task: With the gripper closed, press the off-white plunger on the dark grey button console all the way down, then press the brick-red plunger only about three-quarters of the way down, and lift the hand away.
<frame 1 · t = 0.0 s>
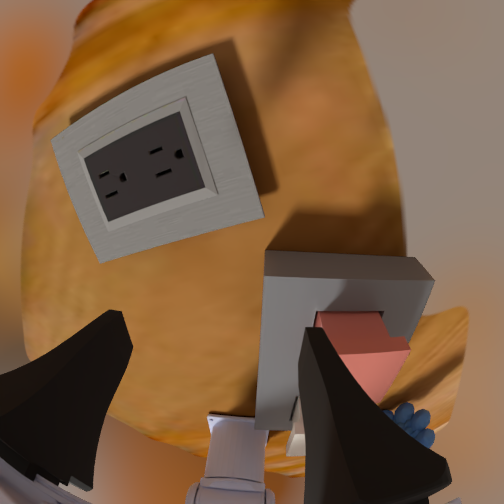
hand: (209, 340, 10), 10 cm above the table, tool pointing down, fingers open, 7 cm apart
electrical outlet: (153, 163, 18), on the table
red plunger: (348, 353, 17), point 5 cm above the table, slide at 0.0 cm
grapes: (384, 411, 30), on the table
console: (324, 350, 24), on the table
white plunger: (319, 422, 21), point 5 cm above the table, slide at 0.0 cm
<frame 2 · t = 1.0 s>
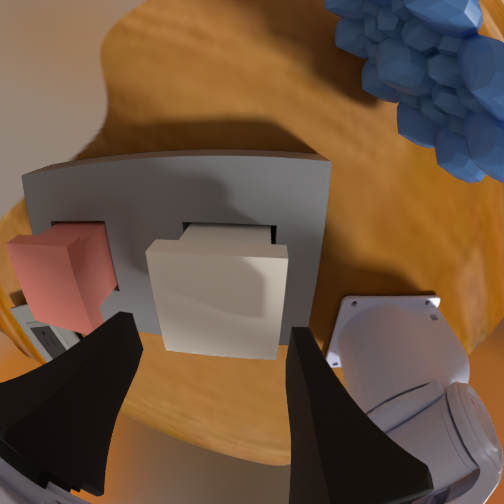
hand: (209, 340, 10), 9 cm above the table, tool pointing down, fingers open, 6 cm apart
electrical outlet: (66, 338, 26), on the table
red plunger: (69, 267, 14), point 5 cm above the table, slide at 0.0 cm
grapes: (382, 73, 13), on the table
console: (165, 237, 19), on the table
white plunger: (224, 281, 14), point 5 cm above the table, slide at 0.0 cm
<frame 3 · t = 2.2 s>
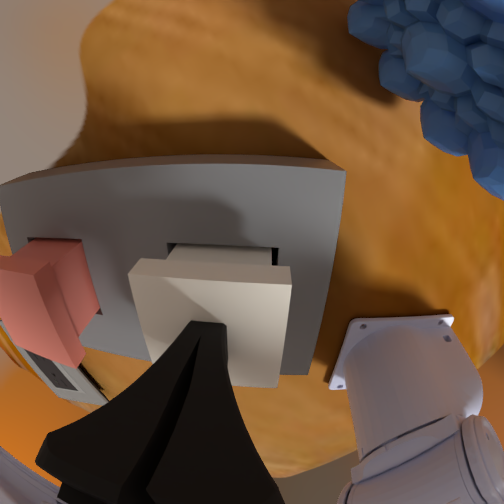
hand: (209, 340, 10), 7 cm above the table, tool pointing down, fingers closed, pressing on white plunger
electrical outlet: (57, 352, 24), on the table
red plunger: (46, 290, 12), point 5 cm above the table, slide at 0.0 cm
grapes: (400, 68, 11), on the table
console: (152, 254, 16), on the table
white plunger: (220, 301, 12), point 4 cm above the table, slide at 0.9 cm, touching gripper
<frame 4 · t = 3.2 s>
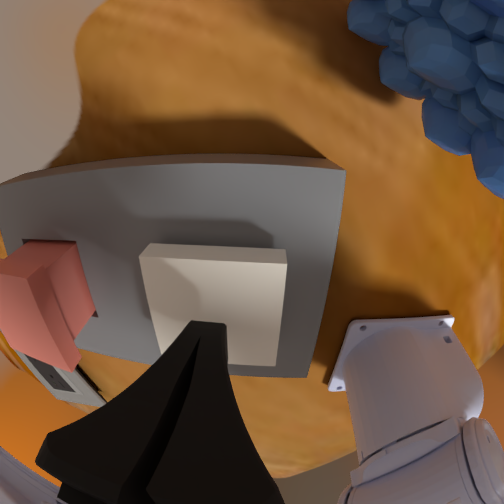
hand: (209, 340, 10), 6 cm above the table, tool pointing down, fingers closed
electrical outlet: (54, 353, 23), on the table
red plunger: (42, 292, 12), point 5 cm above the table, slide at 0.0 cm
grapes: (401, 65, 10), on the table
console: (148, 255, 16), on the table
white plunger: (221, 285, 13), point 3 cm above the table, slide at 2.4 cm
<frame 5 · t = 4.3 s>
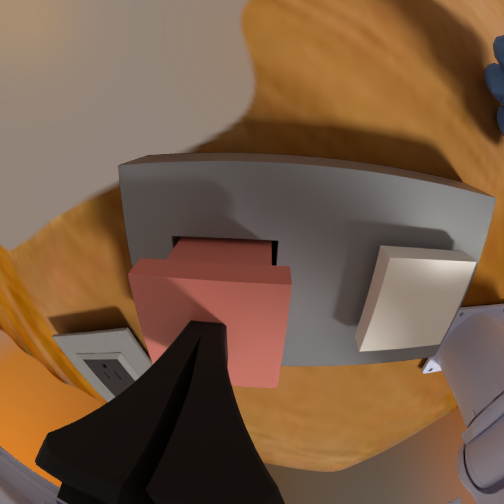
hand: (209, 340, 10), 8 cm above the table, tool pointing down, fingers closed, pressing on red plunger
electrical outlet: (129, 367, 24), on the table
red plunger: (220, 301, 12), point 5 cm above the table, slide at 0.1 cm, touching gripper
grapes: (503, 115, 11), on the table
console: (314, 256, 17), on the table
white plunger: (403, 282, 14), point 3 cm above the table, slide at 2.4 cm
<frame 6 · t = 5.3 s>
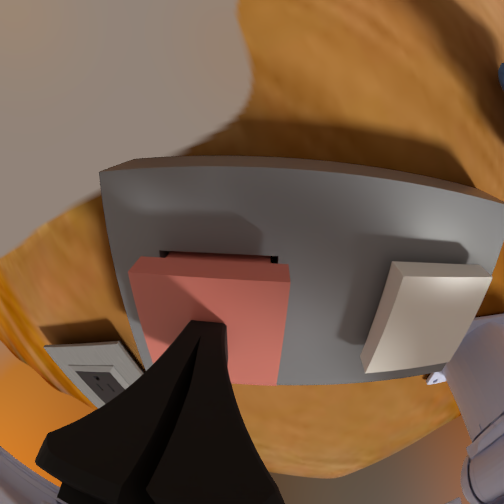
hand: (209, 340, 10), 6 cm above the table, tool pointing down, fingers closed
electrical outlet: (123, 378, 23), on the table
red plunger: (219, 299, 12), point 3 cm above the table, slide at 1.8 cm
console: (317, 269, 15), on the table
white plunger: (412, 297, 13), point 3 cm above the table, slide at 2.4 cm
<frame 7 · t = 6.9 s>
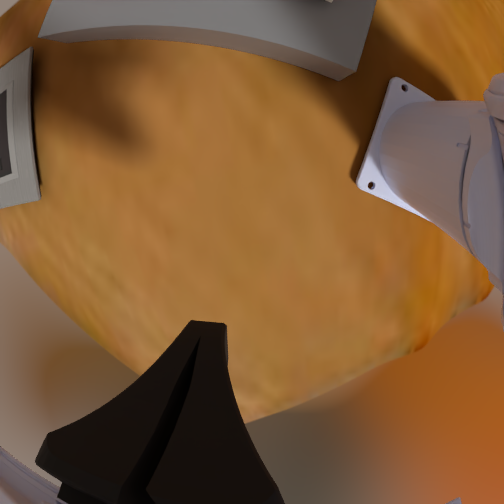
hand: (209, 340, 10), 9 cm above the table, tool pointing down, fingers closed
electrical outlet: (13, 133, 15), on the table
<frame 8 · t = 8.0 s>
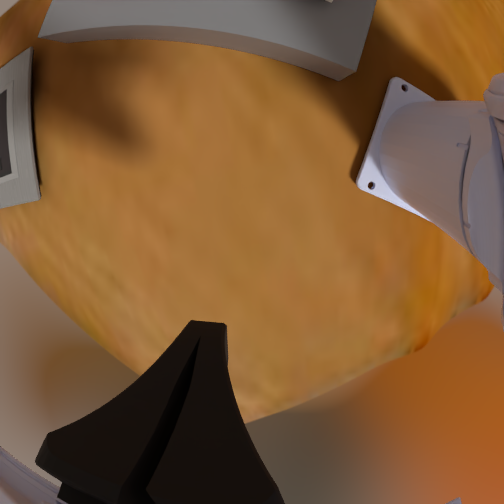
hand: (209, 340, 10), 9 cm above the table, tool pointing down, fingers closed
electrical outlet: (13, 133, 15), on the table
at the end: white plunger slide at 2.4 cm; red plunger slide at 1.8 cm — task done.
